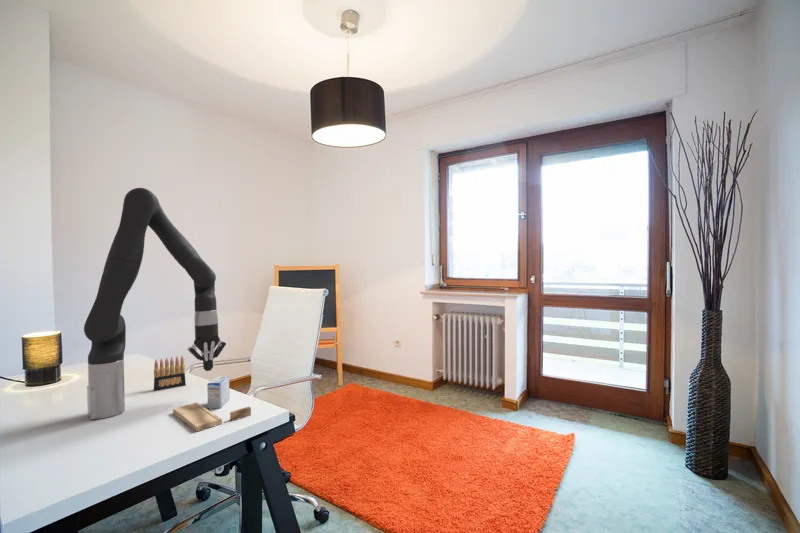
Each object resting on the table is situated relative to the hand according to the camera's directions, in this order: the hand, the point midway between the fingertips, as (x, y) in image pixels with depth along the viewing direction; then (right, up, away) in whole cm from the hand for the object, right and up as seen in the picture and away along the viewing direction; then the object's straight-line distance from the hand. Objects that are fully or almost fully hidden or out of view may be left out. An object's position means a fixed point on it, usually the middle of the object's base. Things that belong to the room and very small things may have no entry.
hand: (208, 370), depth 135 cm
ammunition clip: (-22, -11, +12) cm, 27 cm away
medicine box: (+7, -10, -7) cm, 14 cm away
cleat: (+20, -10, -18) cm, 29 cm away
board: (+6, -10, -19) cm, 22 cm away
